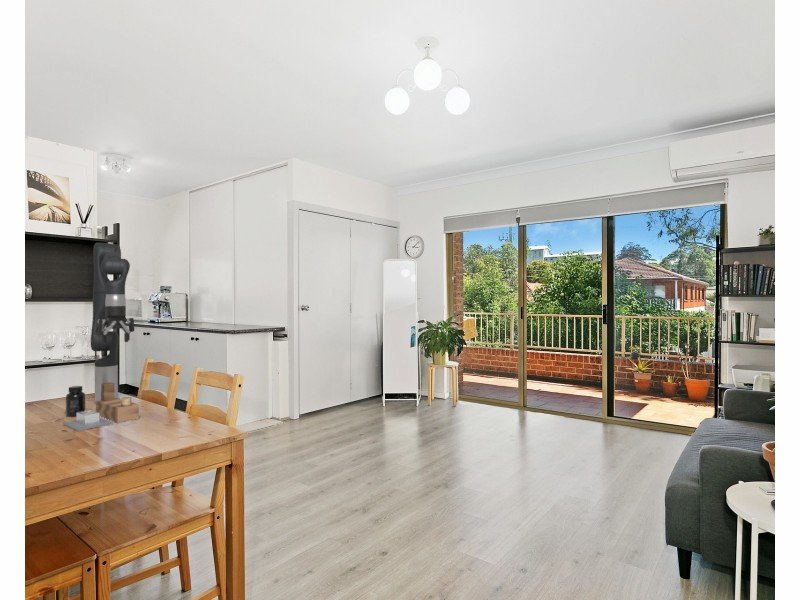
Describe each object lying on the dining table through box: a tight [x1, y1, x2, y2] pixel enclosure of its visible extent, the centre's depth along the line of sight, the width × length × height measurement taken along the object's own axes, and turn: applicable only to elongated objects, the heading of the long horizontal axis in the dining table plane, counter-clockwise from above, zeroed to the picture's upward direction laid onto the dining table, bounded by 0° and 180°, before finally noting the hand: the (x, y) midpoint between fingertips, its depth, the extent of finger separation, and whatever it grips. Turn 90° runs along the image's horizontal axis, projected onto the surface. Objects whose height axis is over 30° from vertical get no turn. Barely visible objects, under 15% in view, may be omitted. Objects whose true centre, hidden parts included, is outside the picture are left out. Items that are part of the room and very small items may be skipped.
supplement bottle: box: [65, 385, 86, 418], centre depth 201 cm, size 7×7×12 cm
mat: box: [62, 417, 114, 432], centre depth 186 cm, size 14×12×1 cm
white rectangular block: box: [76, 409, 100, 426], centre depth 186 cm, size 8×5×4 cm, turn 54°
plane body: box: [95, 382, 140, 424], centre depth 198 cm, size 20×8×13 cm, turn 54°
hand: (115, 342), depth 204 cm, fingers open, 8 cm apart
